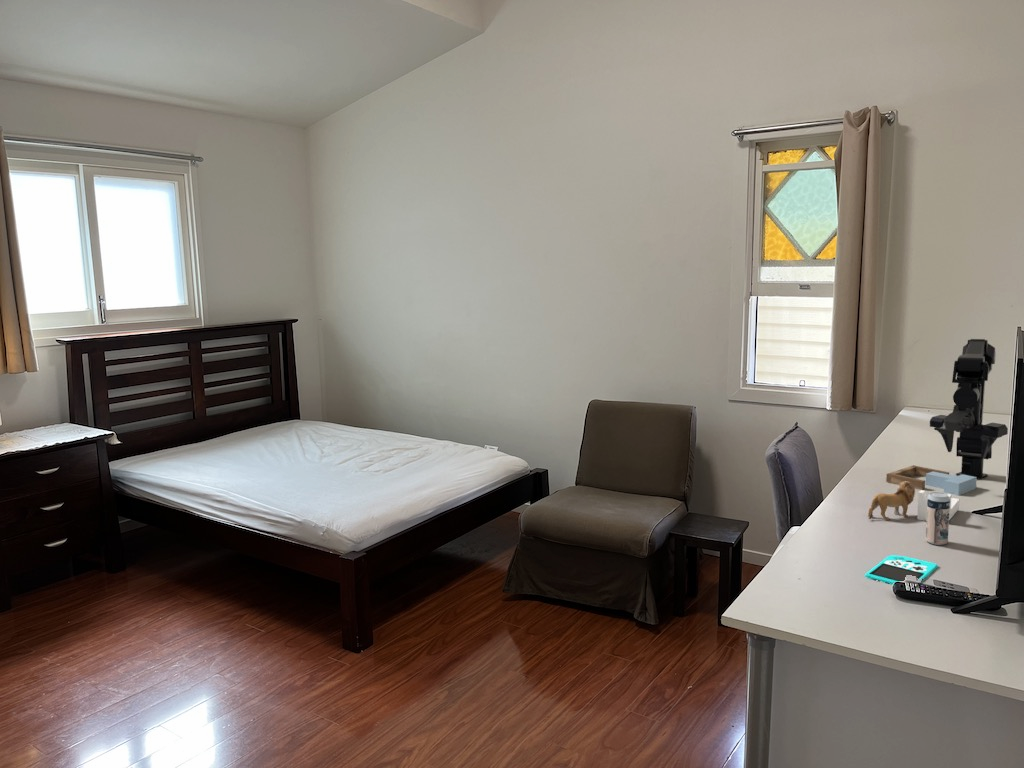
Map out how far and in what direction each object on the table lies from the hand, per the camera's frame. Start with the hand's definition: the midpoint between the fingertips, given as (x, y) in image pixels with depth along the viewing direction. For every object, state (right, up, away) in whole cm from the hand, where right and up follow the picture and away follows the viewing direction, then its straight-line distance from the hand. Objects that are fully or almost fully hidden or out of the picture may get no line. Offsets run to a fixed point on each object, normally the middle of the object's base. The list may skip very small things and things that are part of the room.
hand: (966, 455), depth 213 cm
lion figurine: (-28, -15, -13) cm, 34 cm away
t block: (0, -10, +9) cm, 14 cm away
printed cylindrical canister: (-27, -18, -32) cm, 46 cm away
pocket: (-5, -10, +16) cm, 19 cm away
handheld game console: (-43, -22, -48) cm, 68 cm away
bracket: (-15, -15, -13) cm, 25 cm away
